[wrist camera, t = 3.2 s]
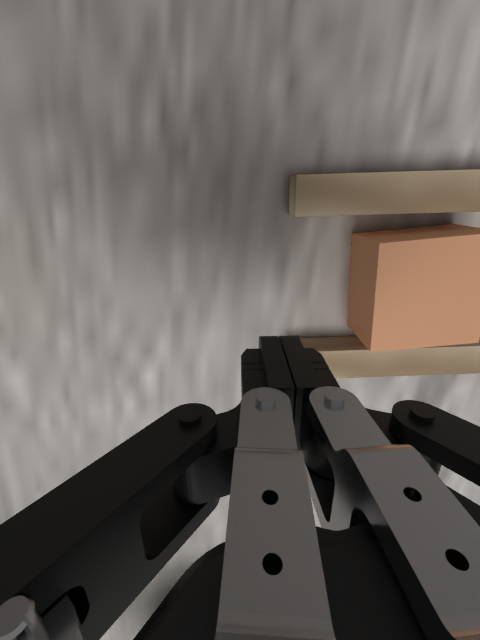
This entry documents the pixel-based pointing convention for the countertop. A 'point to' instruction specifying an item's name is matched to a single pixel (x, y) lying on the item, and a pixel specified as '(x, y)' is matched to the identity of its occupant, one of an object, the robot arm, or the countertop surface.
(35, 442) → the countertop surface
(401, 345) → the terracotta block
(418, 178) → the chute
